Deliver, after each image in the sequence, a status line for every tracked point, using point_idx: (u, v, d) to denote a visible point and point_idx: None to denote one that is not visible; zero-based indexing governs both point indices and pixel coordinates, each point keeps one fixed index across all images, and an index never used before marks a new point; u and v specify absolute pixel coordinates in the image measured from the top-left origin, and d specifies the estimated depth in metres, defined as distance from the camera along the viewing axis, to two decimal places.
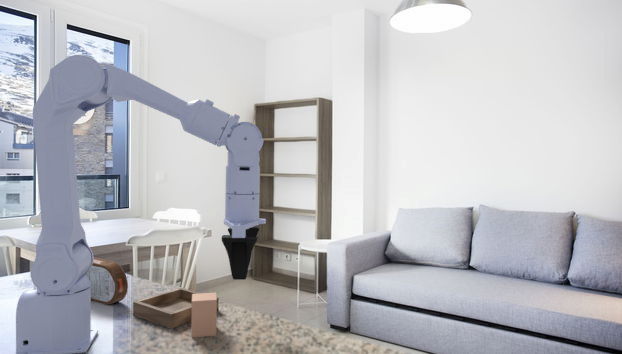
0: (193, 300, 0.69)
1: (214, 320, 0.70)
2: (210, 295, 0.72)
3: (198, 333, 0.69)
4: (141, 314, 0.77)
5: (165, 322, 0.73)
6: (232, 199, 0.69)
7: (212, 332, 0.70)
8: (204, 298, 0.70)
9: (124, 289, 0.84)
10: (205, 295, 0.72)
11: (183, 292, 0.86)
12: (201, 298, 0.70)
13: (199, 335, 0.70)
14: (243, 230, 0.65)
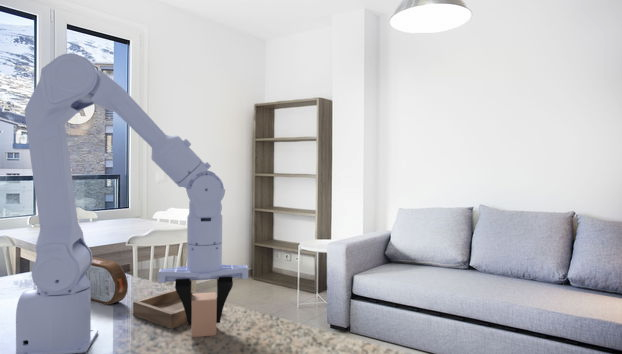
0: (193, 300, 0.69)
1: (214, 320, 0.70)
2: (210, 295, 0.72)
3: (198, 333, 0.69)
4: (141, 314, 0.77)
5: (165, 322, 0.73)
6: None
7: (212, 332, 0.70)
8: (204, 298, 0.70)
9: (124, 289, 0.84)
10: (205, 294, 0.72)
11: None
12: (201, 298, 0.70)
13: (199, 335, 0.70)
14: None
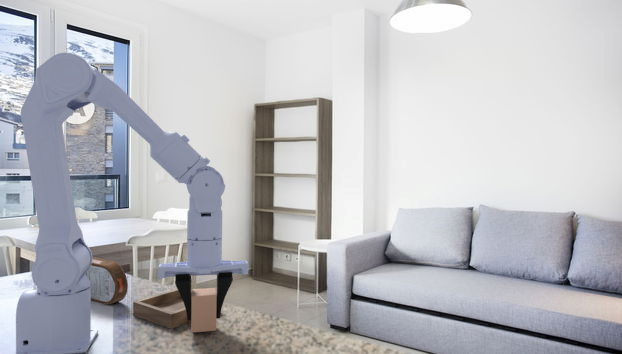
0: (193, 295, 0.69)
1: (214, 315, 0.70)
2: (210, 290, 0.72)
3: (198, 328, 0.69)
4: (141, 314, 0.77)
5: (165, 322, 0.73)
6: None
7: (212, 327, 0.70)
8: (204, 294, 0.70)
9: (124, 289, 0.84)
10: (205, 290, 0.72)
11: None
12: (201, 293, 0.70)
13: (199, 330, 0.69)
14: None
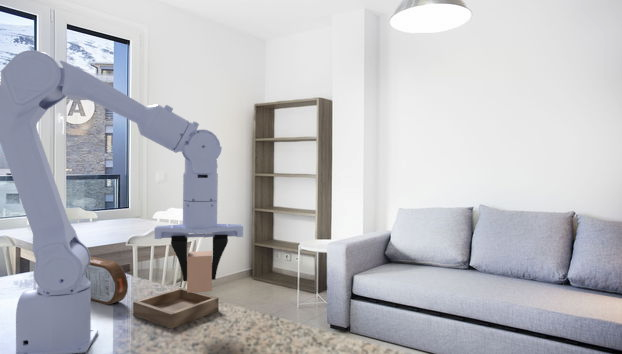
0: (189, 256, 0.70)
1: (209, 276, 0.71)
2: (206, 253, 0.73)
3: (193, 289, 0.70)
4: (141, 314, 0.77)
5: (165, 322, 0.73)
6: None
7: (207, 288, 0.71)
8: (199, 255, 0.71)
9: (124, 289, 0.84)
10: (201, 252, 0.73)
11: (183, 292, 0.86)
12: (196, 255, 0.71)
13: (195, 290, 0.70)
14: None
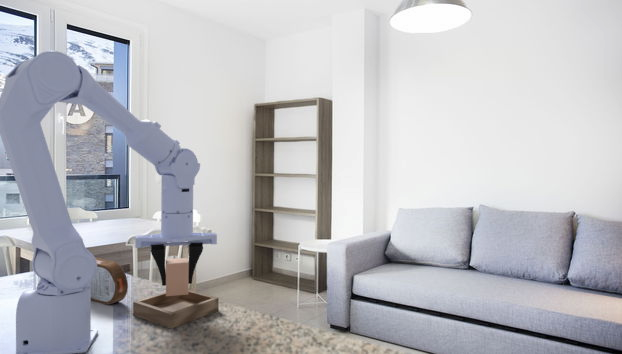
0: (167, 263, 0.78)
1: (186, 281, 0.78)
2: (182, 259, 0.80)
3: (172, 293, 0.78)
4: (141, 314, 0.77)
5: (165, 322, 0.73)
6: None
7: (184, 291, 0.78)
8: (177, 262, 0.79)
9: (124, 289, 0.84)
10: (178, 259, 0.81)
11: None
12: (174, 262, 0.79)
13: (173, 294, 0.78)
14: (135, 241, 0.77)
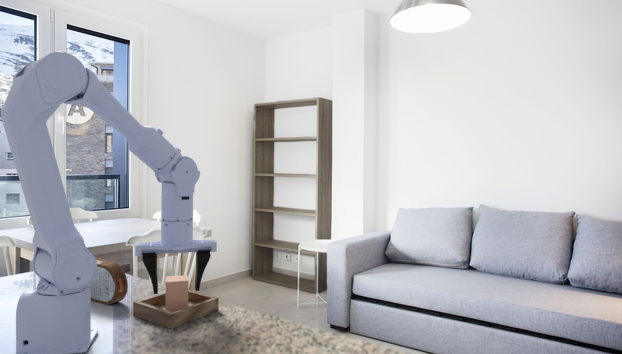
0: (167, 281, 0.78)
1: (186, 299, 0.79)
2: (182, 277, 0.81)
3: (171, 311, 0.78)
4: (141, 314, 0.77)
5: (165, 322, 0.73)
6: None
7: None
8: (177, 280, 0.79)
9: (124, 289, 0.84)
10: (178, 277, 0.81)
11: None
12: (174, 280, 0.79)
13: None
14: (135, 248, 0.77)
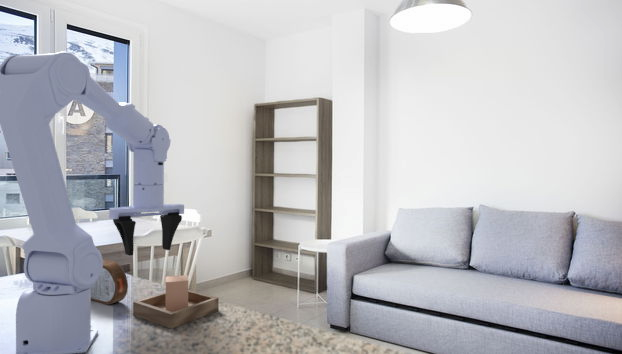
0: (167, 281, 0.78)
1: (186, 299, 0.79)
2: (182, 277, 0.81)
3: (171, 311, 0.78)
4: (141, 314, 0.77)
5: (165, 322, 0.73)
6: None
7: None
8: (177, 280, 0.79)
9: (124, 289, 0.84)
10: (178, 277, 0.81)
11: None
12: (174, 280, 0.79)
13: None
14: (112, 212, 0.79)
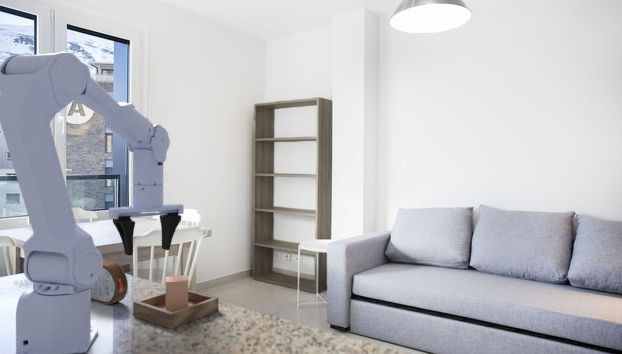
0: (167, 281, 0.78)
1: (186, 299, 0.79)
2: (182, 277, 0.81)
3: (171, 311, 0.78)
4: (141, 314, 0.77)
5: (165, 322, 0.73)
6: None
7: None
8: (177, 280, 0.79)
9: (124, 289, 0.84)
10: (178, 277, 0.81)
11: None
12: (174, 280, 0.79)
13: None
14: (111, 212, 0.79)
